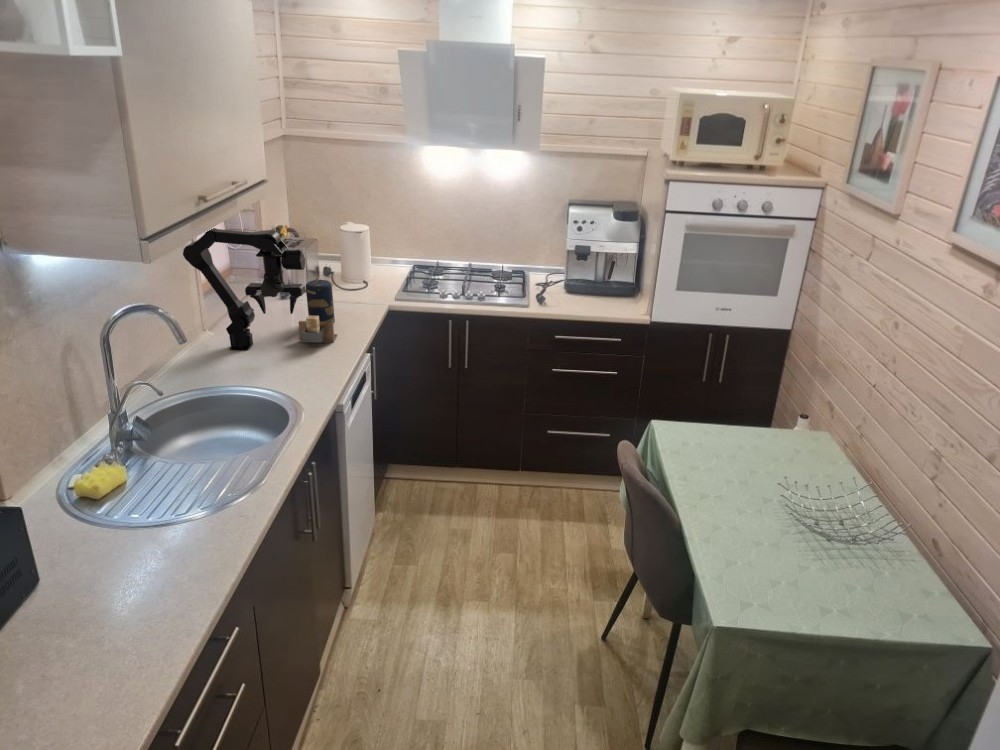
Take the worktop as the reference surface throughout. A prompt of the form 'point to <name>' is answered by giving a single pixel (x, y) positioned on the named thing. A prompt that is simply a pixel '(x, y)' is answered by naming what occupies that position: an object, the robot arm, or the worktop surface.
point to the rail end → (313, 324)
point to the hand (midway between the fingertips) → (278, 313)
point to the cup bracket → (322, 336)
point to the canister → (320, 300)
